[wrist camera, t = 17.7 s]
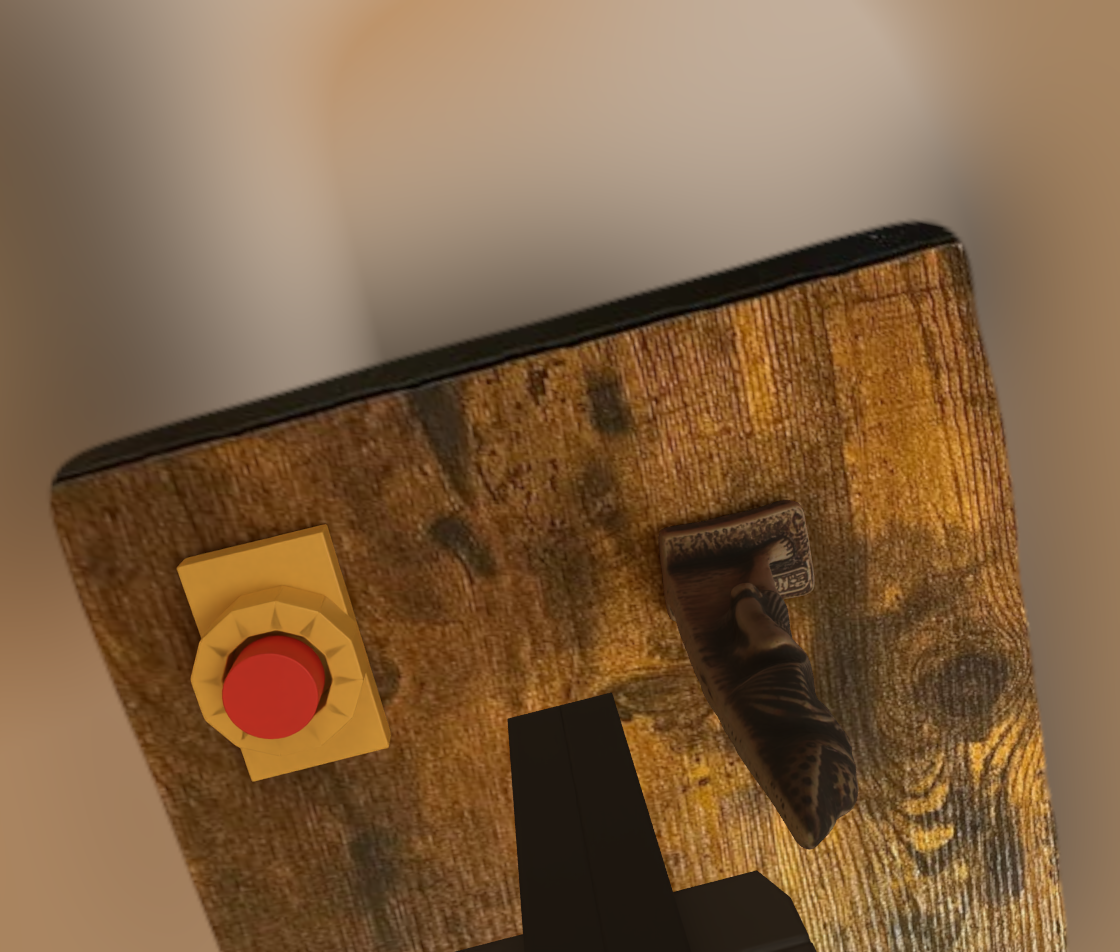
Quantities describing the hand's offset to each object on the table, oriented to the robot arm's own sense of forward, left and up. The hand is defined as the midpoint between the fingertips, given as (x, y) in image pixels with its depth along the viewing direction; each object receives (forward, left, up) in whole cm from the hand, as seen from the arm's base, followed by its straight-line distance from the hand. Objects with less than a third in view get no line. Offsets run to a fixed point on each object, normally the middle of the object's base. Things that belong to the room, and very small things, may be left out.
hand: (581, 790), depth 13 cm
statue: (+4, +10, -27) cm, 29 cm away
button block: (+11, -8, -26) cm, 30 cm away
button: (+11, -7, -24) cm, 27 cm away
